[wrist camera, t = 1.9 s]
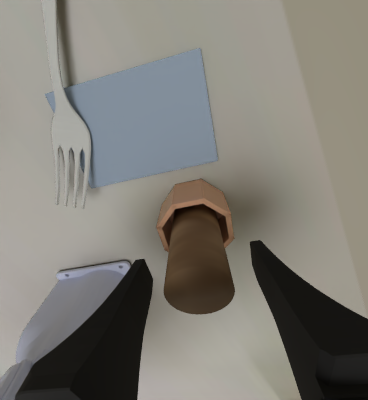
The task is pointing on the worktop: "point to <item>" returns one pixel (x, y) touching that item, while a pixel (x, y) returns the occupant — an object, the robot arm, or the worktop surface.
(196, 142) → the mat
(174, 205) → the cup
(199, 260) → the peg
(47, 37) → the fork
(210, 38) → the worktop surface
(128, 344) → the robot arm
